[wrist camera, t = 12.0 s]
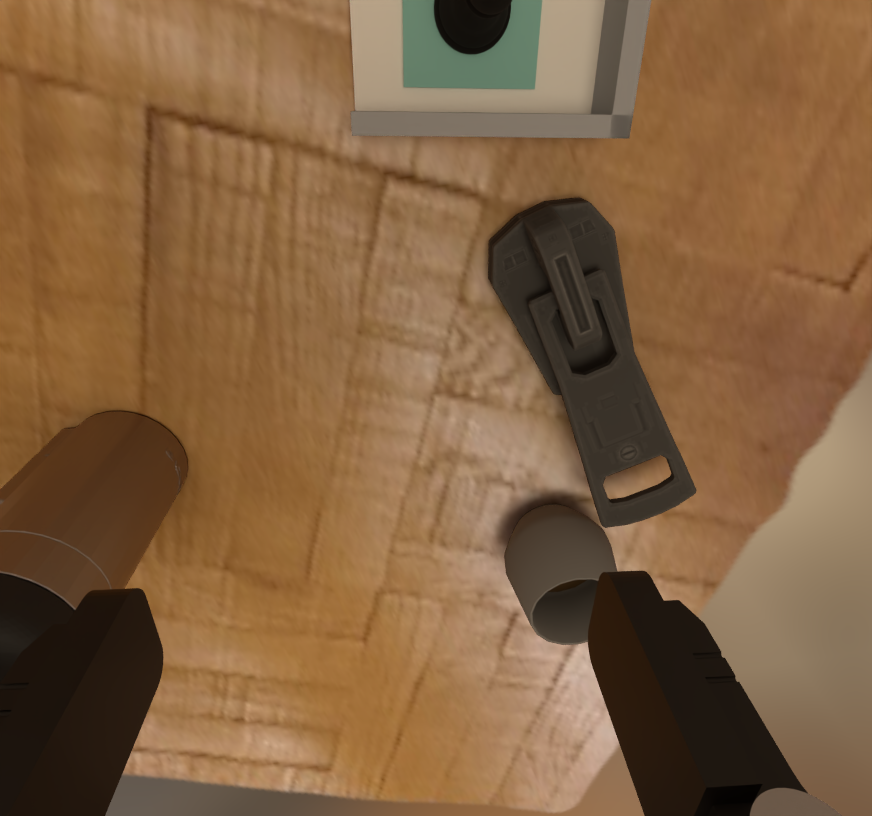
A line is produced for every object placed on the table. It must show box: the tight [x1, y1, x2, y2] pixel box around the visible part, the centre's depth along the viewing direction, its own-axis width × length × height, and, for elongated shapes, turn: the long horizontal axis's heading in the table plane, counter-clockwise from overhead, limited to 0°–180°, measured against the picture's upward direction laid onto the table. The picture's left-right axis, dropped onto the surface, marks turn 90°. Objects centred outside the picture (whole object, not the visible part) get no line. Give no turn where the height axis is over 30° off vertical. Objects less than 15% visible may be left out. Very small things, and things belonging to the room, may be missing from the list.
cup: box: [504, 505, 617, 645], centre depth 48 cm, size 10×9×10 cm
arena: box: [350, 0, 651, 138], centre depth 31 cm, size 16×13×5 cm
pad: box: [402, 0, 542, 89], centre depth 32 cm, size 8×8×1 cm
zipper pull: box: [488, 198, 696, 528], centre depth 42 cm, size 9×7×25 cm
